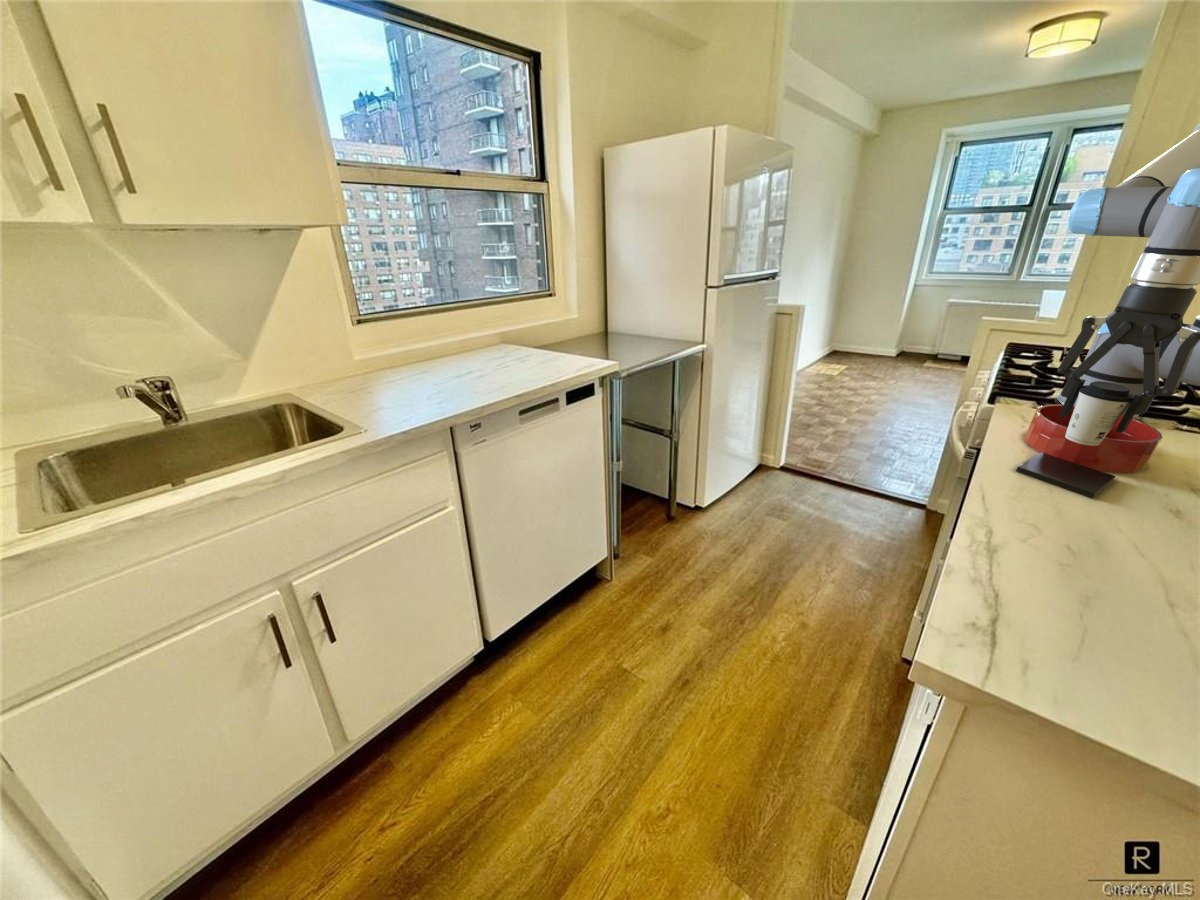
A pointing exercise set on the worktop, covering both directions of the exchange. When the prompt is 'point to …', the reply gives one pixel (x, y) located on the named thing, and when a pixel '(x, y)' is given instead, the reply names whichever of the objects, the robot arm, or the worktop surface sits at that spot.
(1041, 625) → the worktop surface
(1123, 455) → the bowl
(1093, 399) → the coffee cup
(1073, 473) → the plate
